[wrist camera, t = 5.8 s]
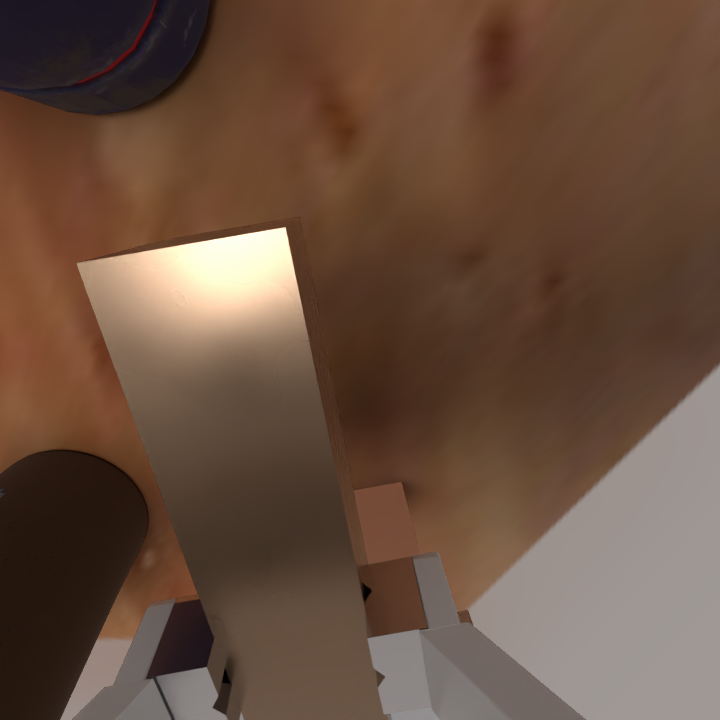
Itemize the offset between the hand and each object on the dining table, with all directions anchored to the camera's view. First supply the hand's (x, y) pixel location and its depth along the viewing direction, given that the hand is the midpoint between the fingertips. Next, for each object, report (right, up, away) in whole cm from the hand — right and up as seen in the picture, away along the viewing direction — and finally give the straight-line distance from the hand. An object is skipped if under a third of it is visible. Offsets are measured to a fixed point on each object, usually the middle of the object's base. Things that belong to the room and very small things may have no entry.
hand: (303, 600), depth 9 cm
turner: (0, 0, +2) cm, 2 cm away
